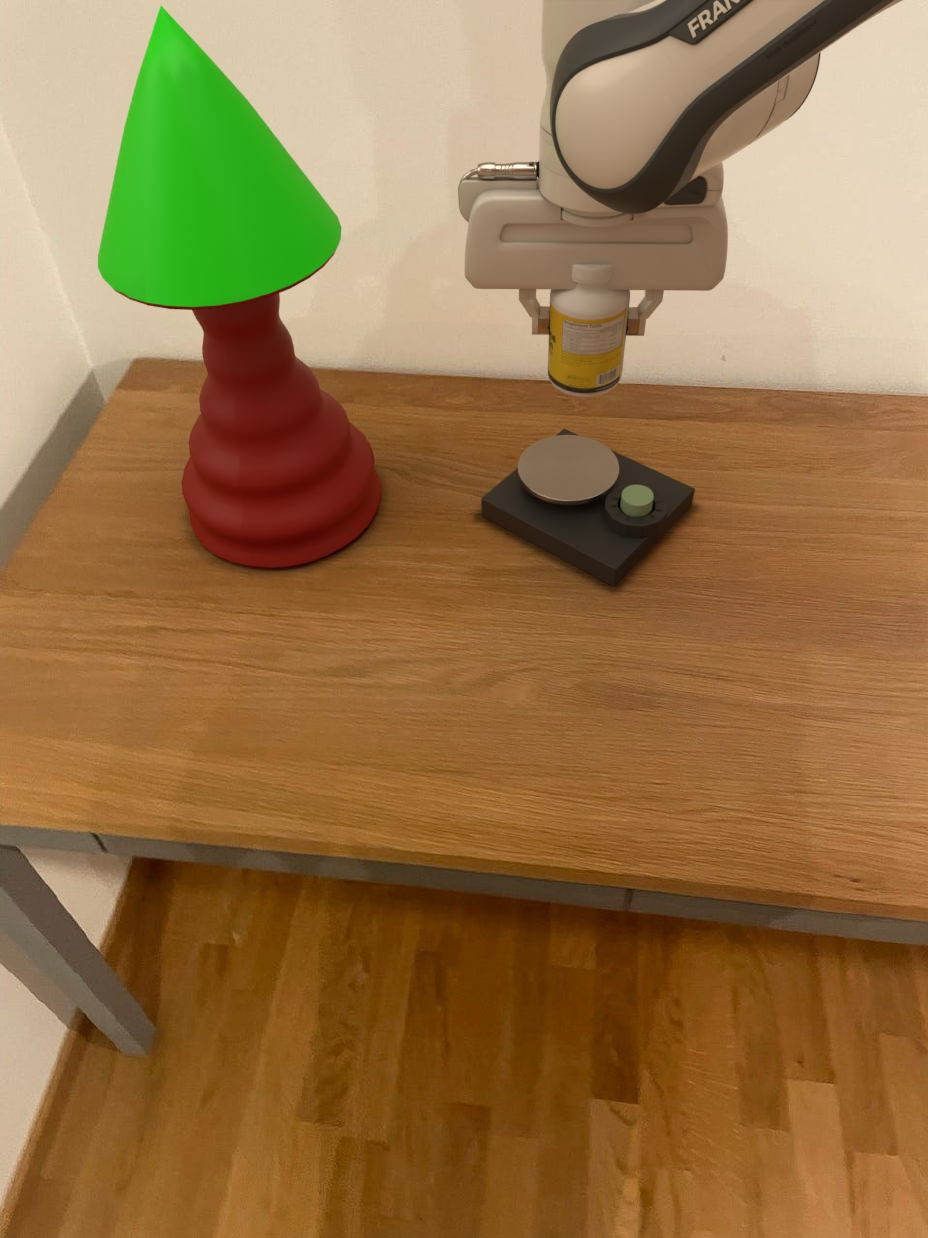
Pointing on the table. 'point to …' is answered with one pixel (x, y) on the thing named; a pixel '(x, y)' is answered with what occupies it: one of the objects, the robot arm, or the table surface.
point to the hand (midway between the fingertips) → (588, 331)
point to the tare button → (636, 500)
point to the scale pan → (568, 469)
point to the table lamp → (236, 308)
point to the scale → (592, 520)
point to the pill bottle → (587, 333)
